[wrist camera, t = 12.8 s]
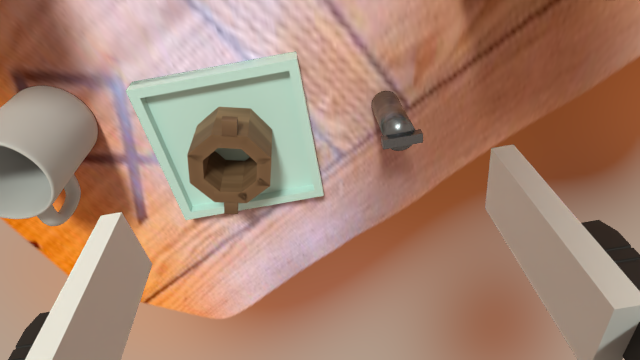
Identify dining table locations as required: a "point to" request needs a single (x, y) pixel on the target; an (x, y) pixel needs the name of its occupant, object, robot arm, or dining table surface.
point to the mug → (43, 152)
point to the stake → (394, 122)
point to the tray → (239, 92)
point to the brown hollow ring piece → (231, 175)
